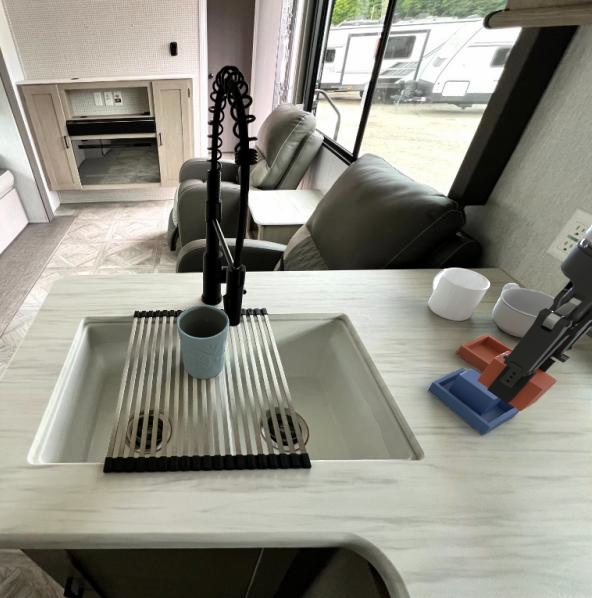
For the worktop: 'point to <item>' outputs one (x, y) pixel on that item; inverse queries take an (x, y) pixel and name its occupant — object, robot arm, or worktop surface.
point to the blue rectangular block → (473, 392)
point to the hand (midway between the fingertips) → (507, 390)
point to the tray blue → (479, 423)
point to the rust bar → (528, 392)
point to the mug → (457, 293)
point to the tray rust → (482, 351)
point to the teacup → (519, 308)
